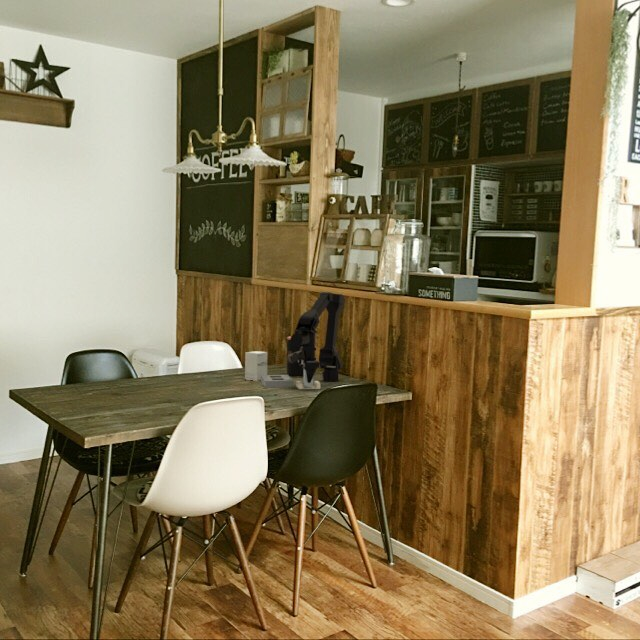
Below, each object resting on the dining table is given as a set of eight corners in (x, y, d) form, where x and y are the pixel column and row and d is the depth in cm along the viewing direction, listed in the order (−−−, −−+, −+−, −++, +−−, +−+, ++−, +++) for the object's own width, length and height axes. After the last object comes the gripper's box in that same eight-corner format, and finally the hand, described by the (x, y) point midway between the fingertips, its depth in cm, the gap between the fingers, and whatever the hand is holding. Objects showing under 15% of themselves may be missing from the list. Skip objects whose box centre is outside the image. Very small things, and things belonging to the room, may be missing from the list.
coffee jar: (284, 373, 350) (284, 336, 348) (305, 372, 353) (306, 335, 351) (290, 377, 339) (290, 338, 338) (312, 376, 343) (312, 338, 341)
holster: (317, 387, 312) (317, 380, 312) (320, 390, 305) (320, 383, 305) (296, 388, 310) (296, 381, 310) (299, 391, 303) (299, 383, 303)
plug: (311, 384, 309) (311, 365, 309) (313, 386, 306) (313, 366, 305) (303, 384, 309) (303, 365, 308) (304, 386, 305) (304, 366, 305)
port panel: (287, 382, 324) (287, 374, 324) (293, 388, 308) (293, 379, 308) (260, 383, 322) (260, 374, 321) (265, 389, 306) (265, 380, 306)
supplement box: (256, 381, 326) (256, 353, 325) (244, 379, 331) (244, 352, 330) (267, 379, 332) (267, 351, 331) (255, 377, 337) (255, 350, 336)
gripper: (286, 342, 314) (286, 378, 315) (292, 347, 295) (292, 386, 297) (311, 342, 316) (311, 378, 317) (319, 347, 297) (319, 385, 299)
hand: (308, 381), depth 307 cm, fingers closed on plug, 3 cm apart
